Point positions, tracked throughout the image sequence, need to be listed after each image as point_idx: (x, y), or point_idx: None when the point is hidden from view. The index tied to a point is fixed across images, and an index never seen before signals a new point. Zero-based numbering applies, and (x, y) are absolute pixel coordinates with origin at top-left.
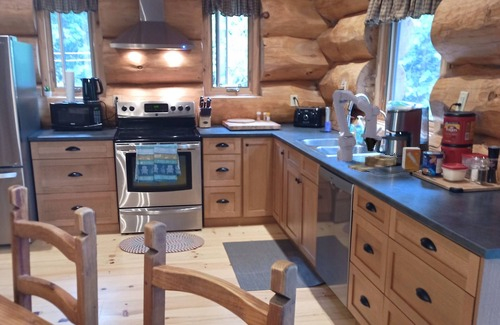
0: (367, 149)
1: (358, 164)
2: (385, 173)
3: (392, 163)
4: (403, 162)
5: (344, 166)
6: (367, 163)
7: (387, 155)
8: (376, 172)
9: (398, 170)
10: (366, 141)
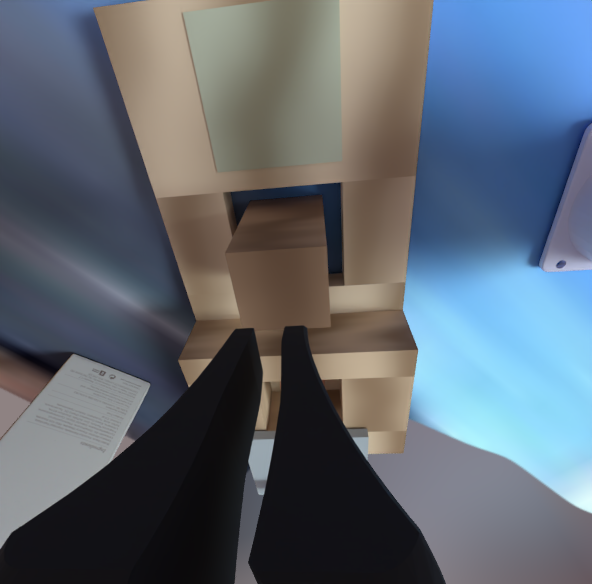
0: (300, 339)
1: (399, 173)
2: (42, 208)
3: None
4: (75, 418)
5: (542, 12)
6: (279, 218)
7: None
8: (97, 160)
9: (131, 353)
10: (287, 497)
